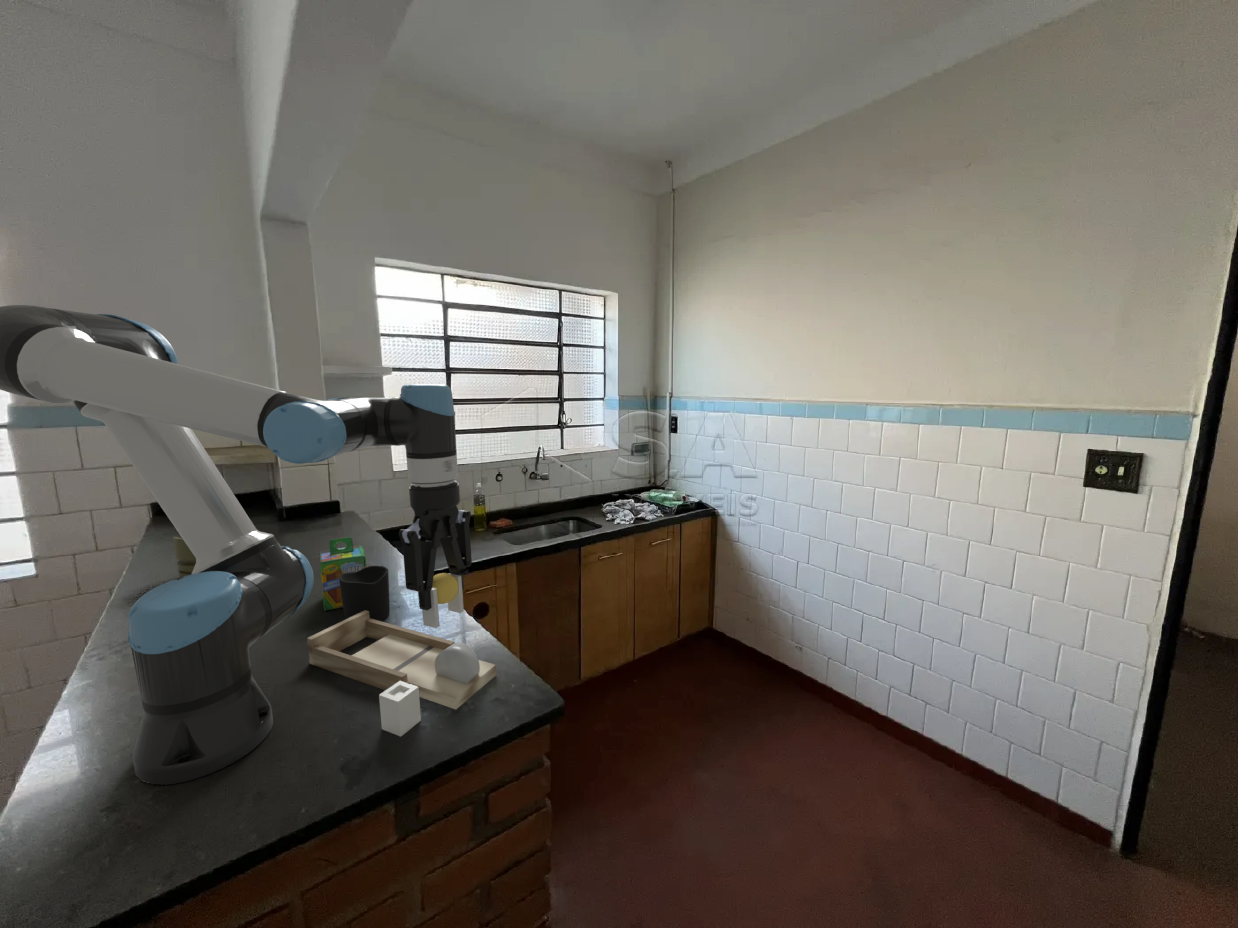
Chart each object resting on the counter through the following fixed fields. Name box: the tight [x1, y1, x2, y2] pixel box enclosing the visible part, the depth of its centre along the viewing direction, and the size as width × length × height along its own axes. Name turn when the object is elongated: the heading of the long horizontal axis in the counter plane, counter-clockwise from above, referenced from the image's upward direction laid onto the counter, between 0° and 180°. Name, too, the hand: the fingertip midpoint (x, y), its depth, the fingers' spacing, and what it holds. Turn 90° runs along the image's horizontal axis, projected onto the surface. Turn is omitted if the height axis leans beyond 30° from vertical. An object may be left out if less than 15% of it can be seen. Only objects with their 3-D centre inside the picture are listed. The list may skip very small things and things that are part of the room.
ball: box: [432, 572, 458, 605], centre depth 82 cm, size 5×5×5 cm
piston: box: [173, 536, 196, 579], centre depth 129 cm, size 11×12×11 cm
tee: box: [378, 681, 422, 737], centre depth 73 cm, size 4×4×6 cm
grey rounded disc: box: [435, 642, 480, 684], centre depth 83 cm, size 3×7×7 cm, turn 66°
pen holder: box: [339, 565, 390, 622], centre depth 106 cm, size 9×9×10 cm
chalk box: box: [319, 536, 367, 612], centre depth 114 cm, size 9×9×15 cm
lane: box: [306, 610, 497, 710], centre depth 88 cm, size 12×33×5 cm, turn 66°
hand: (444, 617), depth 82 cm, fingers closed on ball, 5 cm apart
